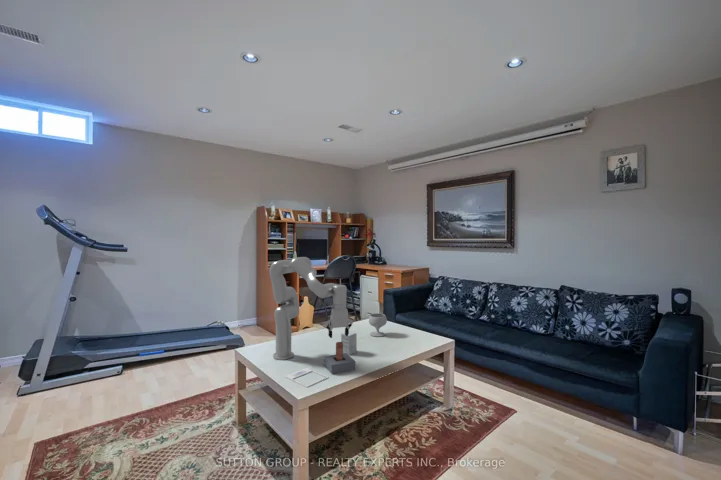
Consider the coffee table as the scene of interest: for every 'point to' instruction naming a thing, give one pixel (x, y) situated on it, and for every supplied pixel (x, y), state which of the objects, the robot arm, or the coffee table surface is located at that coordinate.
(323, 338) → the coffee table surface
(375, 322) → the chalice
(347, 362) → the socket block
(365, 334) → the coffee table surface
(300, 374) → the photo frame
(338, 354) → the peg
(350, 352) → the supplement box
